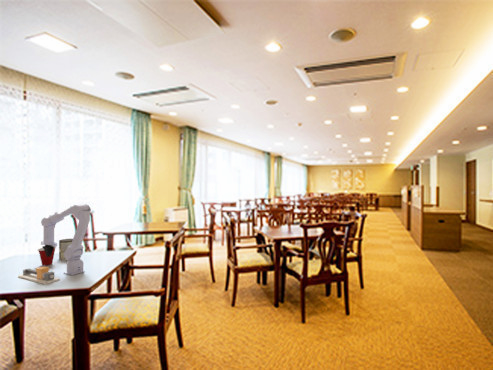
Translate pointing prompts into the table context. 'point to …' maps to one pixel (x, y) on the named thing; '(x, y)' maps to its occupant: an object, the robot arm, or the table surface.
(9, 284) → the table surface
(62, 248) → the coffee can
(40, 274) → the marker sleeve
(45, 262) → the plastic cup
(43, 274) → the cord board
